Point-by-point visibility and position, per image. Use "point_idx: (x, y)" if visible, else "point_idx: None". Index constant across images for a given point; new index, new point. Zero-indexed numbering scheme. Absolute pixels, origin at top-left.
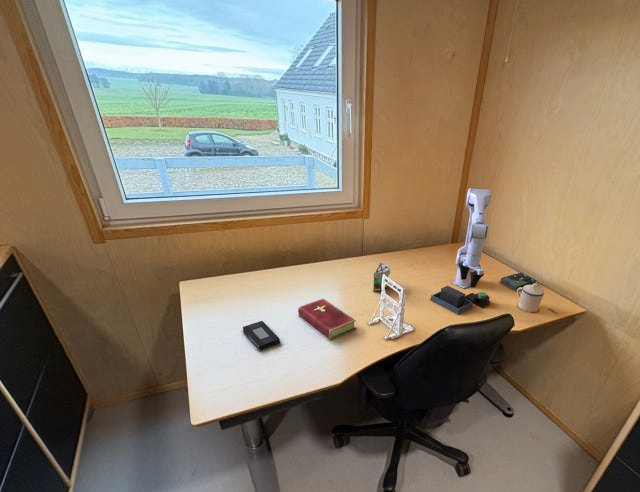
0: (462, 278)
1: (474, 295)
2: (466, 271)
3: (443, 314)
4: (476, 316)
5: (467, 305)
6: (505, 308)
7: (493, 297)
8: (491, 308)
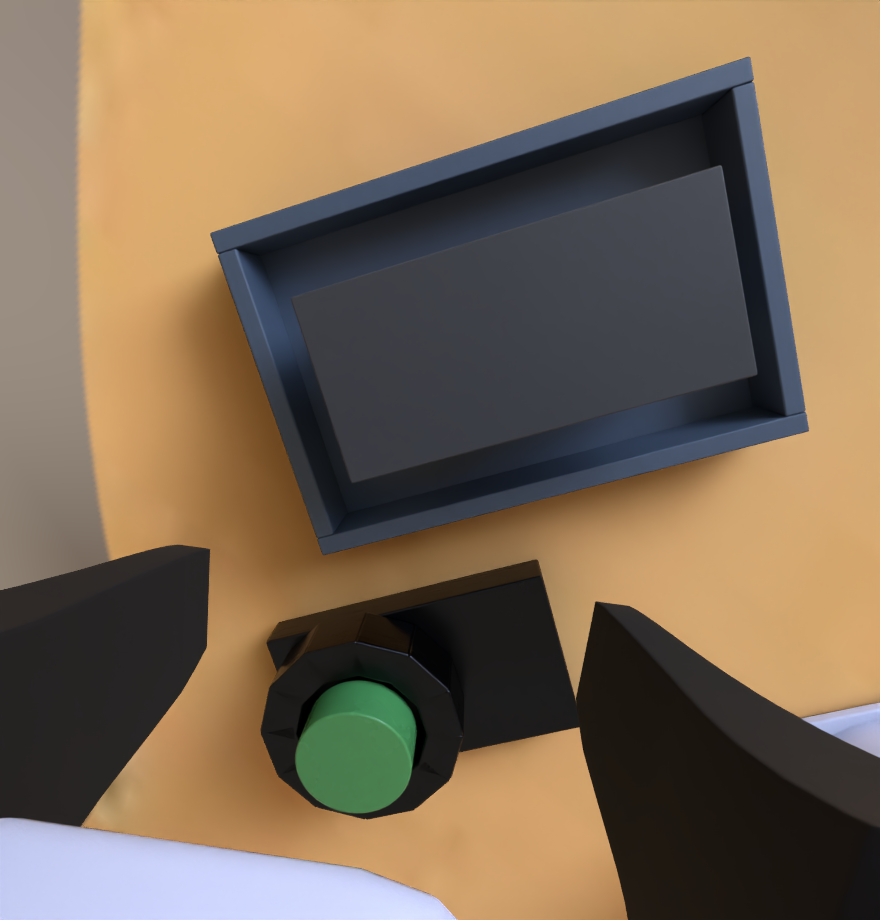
0: (601, 632)
1: (508, 706)
2: (642, 861)
3: (308, 48)
4: (144, 443)
5: (283, 436)
6: (202, 832)
7: (437, 879)
8: (245, 709)
